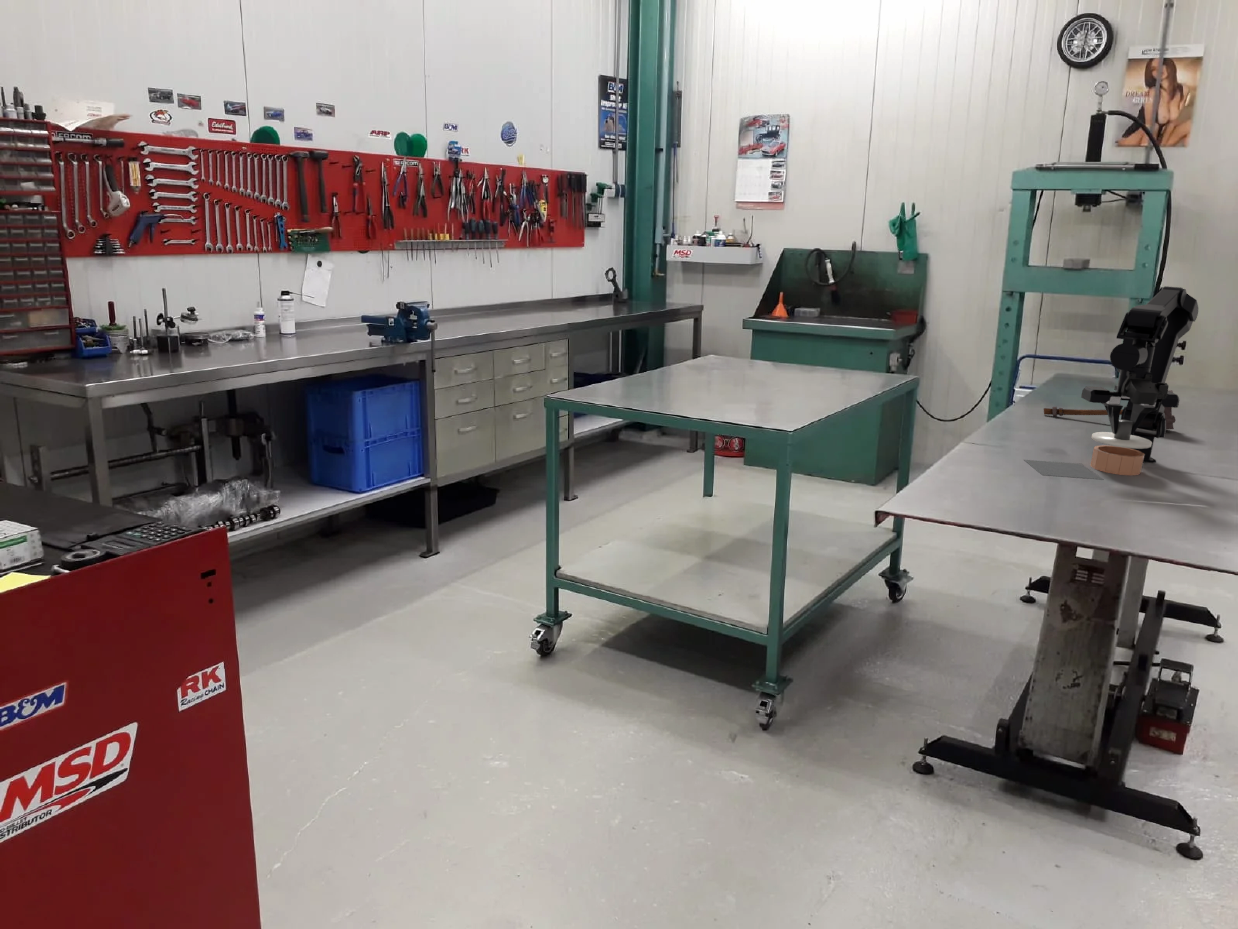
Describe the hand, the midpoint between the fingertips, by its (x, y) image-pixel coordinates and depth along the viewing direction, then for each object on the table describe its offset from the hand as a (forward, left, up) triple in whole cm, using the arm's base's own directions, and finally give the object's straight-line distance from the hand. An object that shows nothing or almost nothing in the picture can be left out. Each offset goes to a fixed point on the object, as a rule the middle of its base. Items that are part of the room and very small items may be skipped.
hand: (1122, 434), depth 205 cm
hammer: (-55, +19, -9) cm, 58 cm away
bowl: (0, 0, -8) cm, 8 cm away
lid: (0, 0, -2) cm, 2 cm away
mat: (+4, -13, -8) cm, 16 cm away
